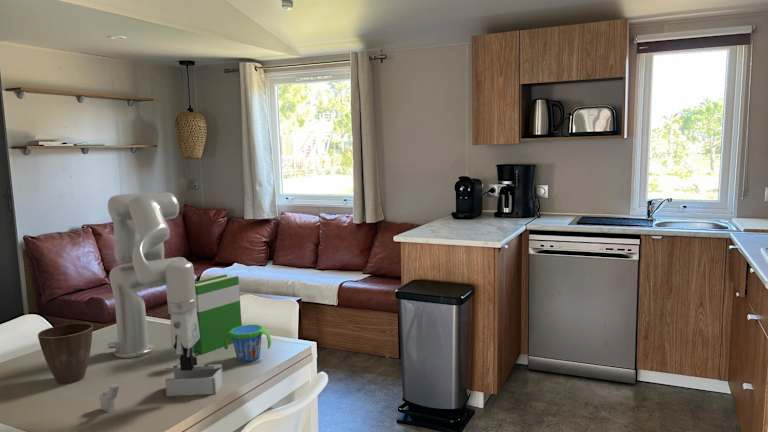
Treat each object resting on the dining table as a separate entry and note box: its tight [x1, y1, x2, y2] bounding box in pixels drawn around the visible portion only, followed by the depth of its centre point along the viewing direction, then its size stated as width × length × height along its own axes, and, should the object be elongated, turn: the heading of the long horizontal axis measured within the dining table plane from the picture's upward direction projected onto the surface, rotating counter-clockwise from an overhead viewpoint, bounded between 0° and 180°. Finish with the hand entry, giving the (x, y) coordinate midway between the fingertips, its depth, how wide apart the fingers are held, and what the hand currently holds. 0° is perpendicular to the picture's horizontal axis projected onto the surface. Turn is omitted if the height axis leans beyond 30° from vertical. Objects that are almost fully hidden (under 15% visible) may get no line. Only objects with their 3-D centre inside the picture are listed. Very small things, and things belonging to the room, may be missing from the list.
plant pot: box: [37, 322, 94, 385], centre depth 175 cm, size 15×15×16 cm
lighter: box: [99, 383, 120, 413], centre depth 152 cm, size 7×2×8 cm, turn 56°
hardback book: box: [193, 274, 243, 355], centre depth 202 cm, size 18×7×24 cm, turn 144°
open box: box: [164, 366, 224, 397], centre depth 164 cm, size 14×8×5 cm, turn 90°
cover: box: [164, 363, 223, 372], centre depth 164 cm, size 14×8×1 cm, turn 90°
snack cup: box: [223, 324, 272, 363], centre depth 188 cm, size 16×10×10 cm
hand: (187, 369), depth 158 cm, fingers closed
